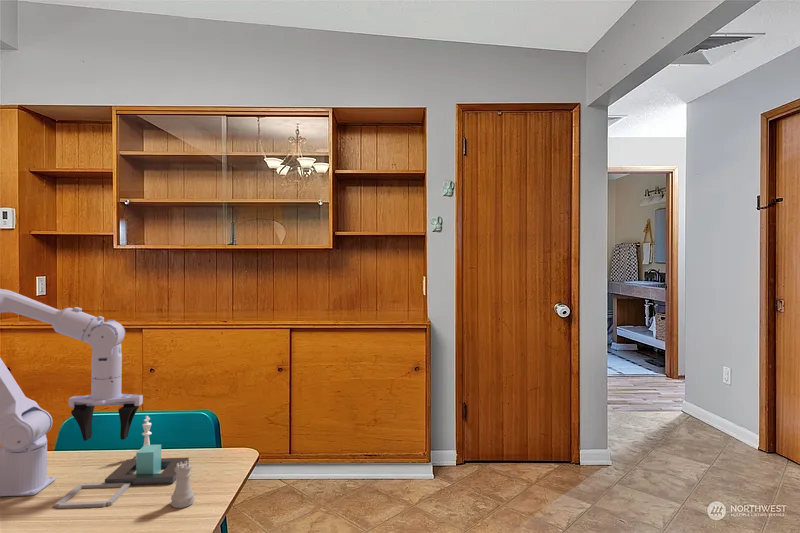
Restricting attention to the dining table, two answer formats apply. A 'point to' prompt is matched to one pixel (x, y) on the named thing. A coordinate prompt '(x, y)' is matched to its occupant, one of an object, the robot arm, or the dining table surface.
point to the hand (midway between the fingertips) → (105, 438)
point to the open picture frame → (62, 501)
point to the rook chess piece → (182, 486)
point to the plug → (148, 459)
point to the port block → (129, 467)
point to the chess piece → (146, 431)
